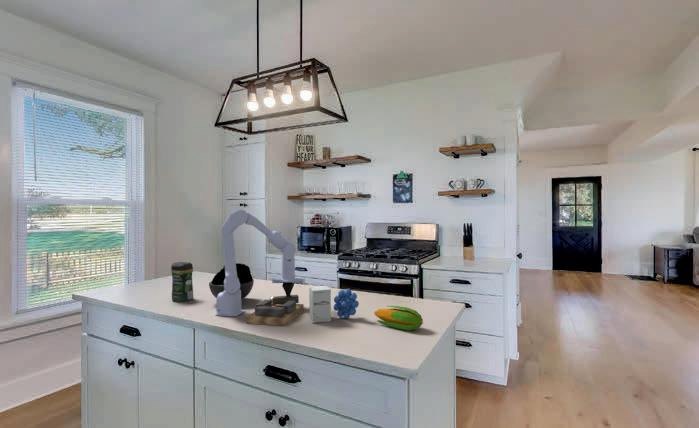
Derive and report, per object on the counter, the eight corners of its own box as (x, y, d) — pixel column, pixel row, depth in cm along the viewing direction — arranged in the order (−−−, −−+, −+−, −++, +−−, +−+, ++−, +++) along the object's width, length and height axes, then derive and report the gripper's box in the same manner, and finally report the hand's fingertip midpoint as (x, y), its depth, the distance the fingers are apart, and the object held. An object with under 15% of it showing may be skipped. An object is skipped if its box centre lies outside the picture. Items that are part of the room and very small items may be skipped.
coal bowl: (242, 309, 151) (241, 266, 151) (200, 307, 154) (199, 265, 154) (260, 297, 171) (260, 259, 171) (223, 296, 174) (222, 259, 174)
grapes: (364, 317, 136) (363, 287, 136) (355, 322, 131) (355, 291, 131) (339, 313, 143) (339, 284, 142) (330, 318, 137) (330, 288, 137)
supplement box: (312, 323, 130) (311, 290, 130) (309, 317, 138) (308, 286, 137) (331, 321, 132) (331, 289, 132) (327, 316, 140) (327, 285, 139)
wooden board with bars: (246, 323, 132) (245, 308, 132) (269, 308, 152) (269, 295, 152) (284, 325, 129) (284, 311, 129) (303, 310, 148) (303, 297, 148)
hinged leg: (270, 306, 146) (269, 298, 146) (269, 304, 149) (269, 296, 149) (298, 303, 150) (298, 295, 150) (297, 301, 153) (297, 294, 153)
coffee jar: (168, 300, 167) (167, 262, 167) (182, 296, 174) (181, 260, 174) (183, 302, 163) (182, 263, 163) (196, 298, 170) (195, 261, 170)
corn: (417, 312, 117) (368, 303, 129) (417, 335, 117) (368, 324, 129) (426, 308, 123) (378, 300, 135) (426, 330, 123) (378, 320, 135)
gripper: (269, 270, 150) (269, 301, 150) (301, 271, 148) (301, 302, 148) (275, 267, 157) (275, 297, 157) (306, 268, 155) (306, 298, 155)
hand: (288, 299), depth 153 cm, fingers closed, pressing on hinged leg
